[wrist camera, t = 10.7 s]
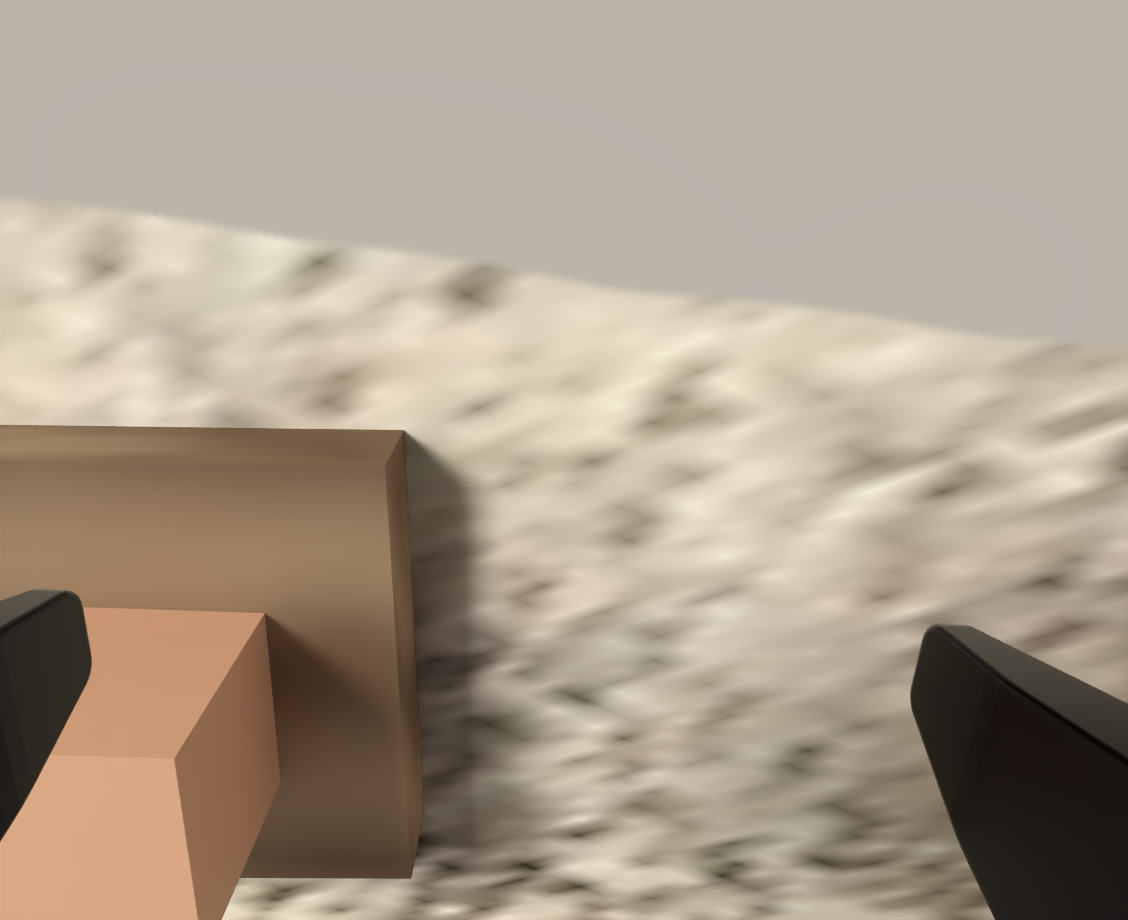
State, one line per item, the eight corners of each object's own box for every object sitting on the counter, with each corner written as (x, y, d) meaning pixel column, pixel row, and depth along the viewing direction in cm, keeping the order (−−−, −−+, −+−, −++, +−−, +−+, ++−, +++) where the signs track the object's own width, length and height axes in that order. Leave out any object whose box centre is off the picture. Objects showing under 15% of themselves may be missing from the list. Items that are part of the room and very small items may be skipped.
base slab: (426, 797, 26) (410, 878, 23) (29, 795, 25) (-36, 876, 23) (407, 423, 21) (384, 465, 18) (-71, 417, 21) (-167, 459, 18)
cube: (280, 782, 22) (204, 959, 17) (83, 776, 21) (-49, 953, 17) (264, 613, 20) (173, 758, 15) (50, 605, 20) (-109, 749, 15)
